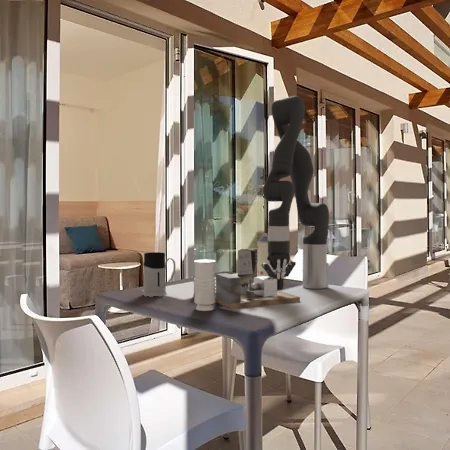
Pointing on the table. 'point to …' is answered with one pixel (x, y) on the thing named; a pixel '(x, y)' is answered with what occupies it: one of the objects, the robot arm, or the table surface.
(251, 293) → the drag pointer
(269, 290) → the white block
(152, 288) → the grey handled cylinder
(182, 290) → the table surface
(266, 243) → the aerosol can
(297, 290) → the table surface
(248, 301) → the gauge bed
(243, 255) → the coffee box
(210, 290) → the candle
